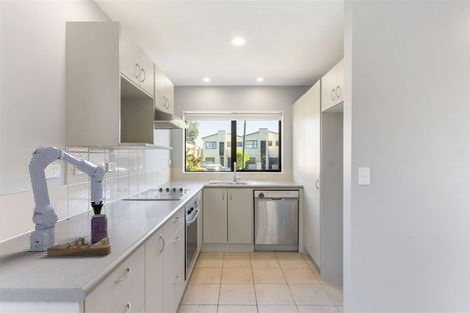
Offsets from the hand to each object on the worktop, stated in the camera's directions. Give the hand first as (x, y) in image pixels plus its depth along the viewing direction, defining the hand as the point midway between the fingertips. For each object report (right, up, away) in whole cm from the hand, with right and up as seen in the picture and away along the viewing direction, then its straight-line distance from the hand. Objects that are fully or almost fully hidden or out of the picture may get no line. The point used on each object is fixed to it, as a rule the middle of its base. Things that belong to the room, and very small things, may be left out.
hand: (97, 216), depth 149 cm
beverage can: (+7, -9, -13) cm, 17 cm away
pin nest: (+7, -9, -25) cm, 27 cm away
